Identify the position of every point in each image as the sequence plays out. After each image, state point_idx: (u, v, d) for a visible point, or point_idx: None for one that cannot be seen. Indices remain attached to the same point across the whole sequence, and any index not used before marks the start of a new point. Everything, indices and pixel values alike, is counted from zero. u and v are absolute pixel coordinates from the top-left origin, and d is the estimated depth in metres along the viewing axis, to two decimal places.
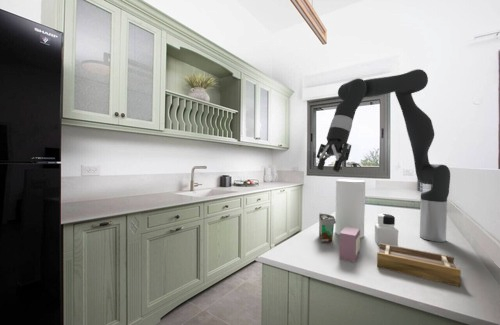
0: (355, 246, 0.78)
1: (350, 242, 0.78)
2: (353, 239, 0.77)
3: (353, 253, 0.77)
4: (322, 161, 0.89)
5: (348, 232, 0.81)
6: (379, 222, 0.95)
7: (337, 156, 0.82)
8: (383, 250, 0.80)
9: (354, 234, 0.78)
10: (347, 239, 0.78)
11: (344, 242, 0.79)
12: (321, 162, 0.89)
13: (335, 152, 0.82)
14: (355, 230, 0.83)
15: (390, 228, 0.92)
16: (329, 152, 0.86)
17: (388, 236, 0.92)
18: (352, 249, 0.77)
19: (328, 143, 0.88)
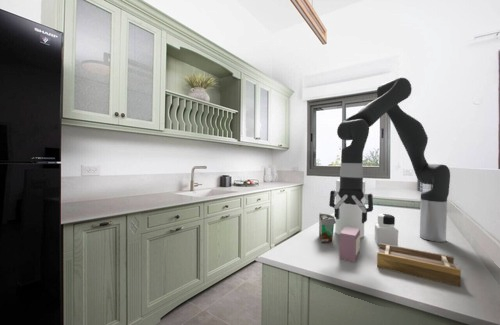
0: (355, 246, 0.78)
1: (350, 242, 0.78)
2: (353, 239, 0.77)
3: (353, 253, 0.77)
4: (338, 210, 0.85)
5: (348, 232, 0.81)
6: (379, 222, 0.95)
7: (363, 208, 0.79)
8: (383, 250, 0.80)
9: (354, 234, 0.78)
10: (347, 239, 0.78)
11: (344, 242, 0.79)
12: (338, 211, 0.84)
13: (360, 204, 0.79)
14: (355, 230, 0.83)
15: (390, 228, 0.92)
16: (348, 202, 0.82)
17: (388, 236, 0.92)
18: (352, 249, 0.77)
19: (342, 191, 0.83)
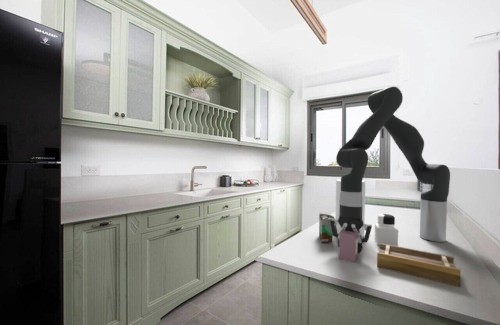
0: (355, 246, 0.78)
1: (350, 242, 0.78)
2: (353, 239, 0.77)
3: (353, 253, 0.77)
4: None
5: (348, 232, 0.81)
6: (379, 222, 0.95)
7: (359, 239, 0.80)
8: (383, 250, 0.80)
9: (354, 234, 0.78)
10: (347, 239, 0.78)
11: (344, 242, 0.79)
12: None
13: (357, 234, 0.80)
14: None
15: (390, 228, 0.92)
16: (349, 230, 0.82)
17: (388, 236, 0.92)
18: (352, 249, 0.78)
19: (341, 219, 0.83)
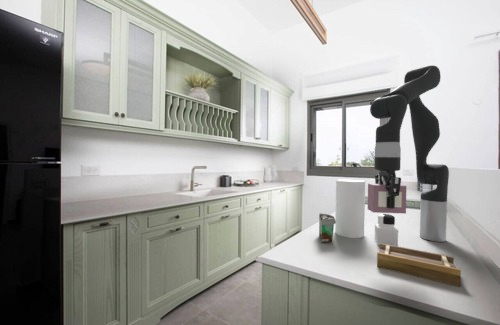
0: (375, 196, 0.76)
1: (371, 192, 0.77)
2: (372, 189, 0.76)
3: (372, 203, 0.76)
4: None
5: (379, 184, 0.78)
6: (379, 222, 0.95)
7: (387, 192, 0.74)
8: (383, 250, 0.80)
9: (377, 185, 0.76)
10: (370, 189, 0.78)
11: (369, 192, 0.79)
12: None
13: None
14: None
15: (390, 228, 0.92)
16: None
17: (388, 236, 0.92)
18: (372, 199, 0.77)
19: (379, 172, 0.80)
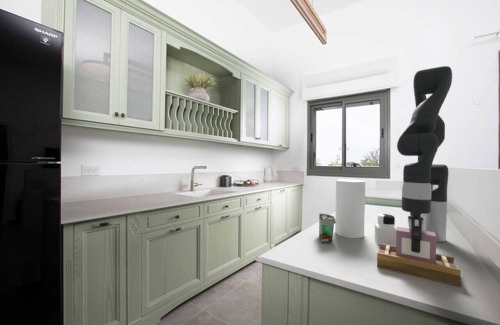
0: (398, 242, 0.73)
1: None
2: (396, 234, 0.74)
3: (396, 248, 0.74)
4: None
5: (406, 229, 0.74)
6: (379, 222, 0.95)
7: None
8: (383, 250, 0.80)
9: (401, 230, 0.73)
10: None
11: None
12: None
13: (409, 228, 0.71)
14: None
15: (390, 228, 0.92)
16: None
17: (388, 236, 0.92)
18: (396, 244, 0.74)
19: None
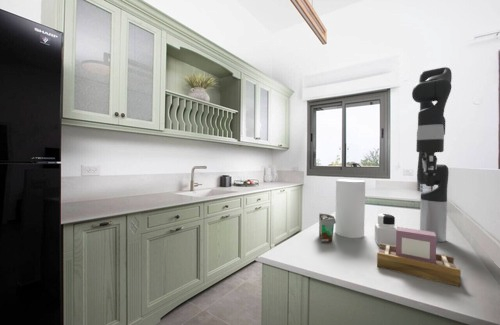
0: (398, 242, 0.73)
1: None
2: (396, 234, 0.74)
3: (396, 248, 0.74)
4: None
5: (406, 229, 0.74)
6: (379, 222, 0.95)
7: (425, 170, 0.78)
8: (383, 250, 0.80)
9: (401, 230, 0.73)
10: None
11: None
12: (426, 175, 0.84)
13: (423, 166, 0.79)
14: (421, 233, 0.71)
15: (390, 228, 0.92)
16: None
17: (388, 236, 0.92)
18: (396, 244, 0.74)
19: None
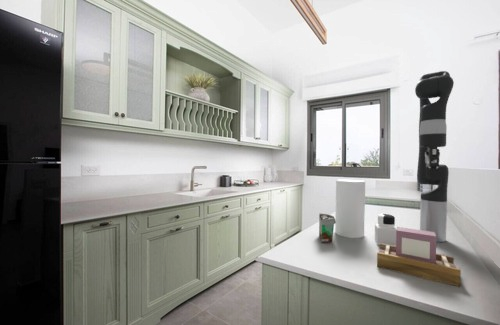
0: (398, 242, 0.73)
1: None
2: (396, 234, 0.74)
3: (396, 248, 0.74)
4: (429, 169, 0.86)
5: (406, 229, 0.74)
6: (379, 222, 0.95)
7: (428, 164, 0.79)
8: (383, 250, 0.80)
9: (401, 230, 0.73)
10: None
11: None
12: (428, 170, 0.86)
13: (426, 160, 0.80)
14: (421, 233, 0.71)
15: (390, 228, 0.92)
16: None
17: (388, 236, 0.92)
18: (396, 244, 0.74)
19: (427, 150, 0.85)
